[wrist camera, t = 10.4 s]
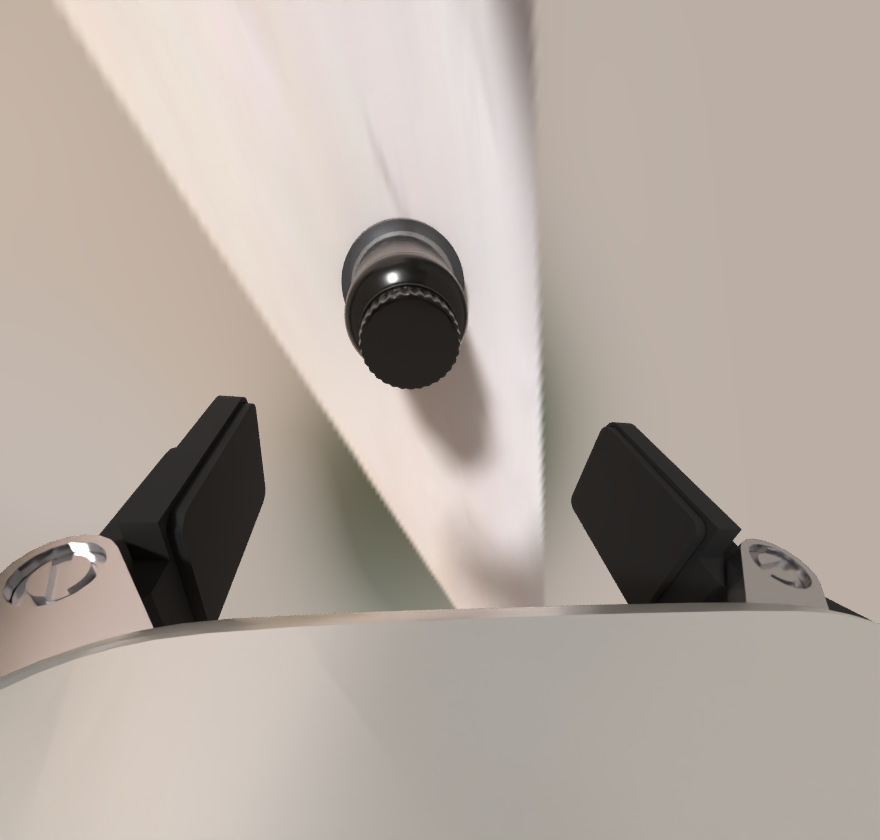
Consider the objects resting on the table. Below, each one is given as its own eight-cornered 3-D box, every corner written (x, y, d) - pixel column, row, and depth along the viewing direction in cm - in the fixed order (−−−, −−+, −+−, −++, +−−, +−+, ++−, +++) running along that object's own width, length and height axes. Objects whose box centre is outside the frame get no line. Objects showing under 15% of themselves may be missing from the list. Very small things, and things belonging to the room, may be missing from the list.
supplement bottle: (352, 230, 25) (331, 258, 15) (452, 237, 26) (494, 269, 16) (356, 329, 29) (340, 407, 19) (444, 333, 30) (474, 408, 20)
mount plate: (344, 208, 26) (342, 209, 25) (470, 228, 28) (475, 230, 26) (342, 334, 30) (340, 340, 29) (450, 345, 32) (453, 352, 31)
